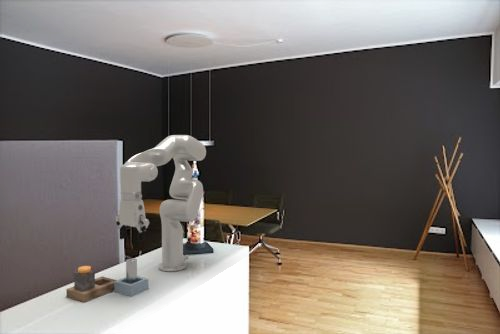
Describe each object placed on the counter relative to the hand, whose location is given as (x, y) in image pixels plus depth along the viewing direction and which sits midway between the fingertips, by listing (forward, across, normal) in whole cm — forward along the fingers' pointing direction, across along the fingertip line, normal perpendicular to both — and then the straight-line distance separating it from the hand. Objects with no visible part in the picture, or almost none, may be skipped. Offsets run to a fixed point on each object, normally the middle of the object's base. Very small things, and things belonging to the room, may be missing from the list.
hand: (132, 240), depth 148 cm
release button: (+16, +10, +14) cm, 24 cm away
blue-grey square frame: (+20, 0, +1) cm, 20 cm away
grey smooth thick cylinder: (+20, 0, +1) cm, 20 cm away
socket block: (+19, +10, +10) cm, 24 cm away
